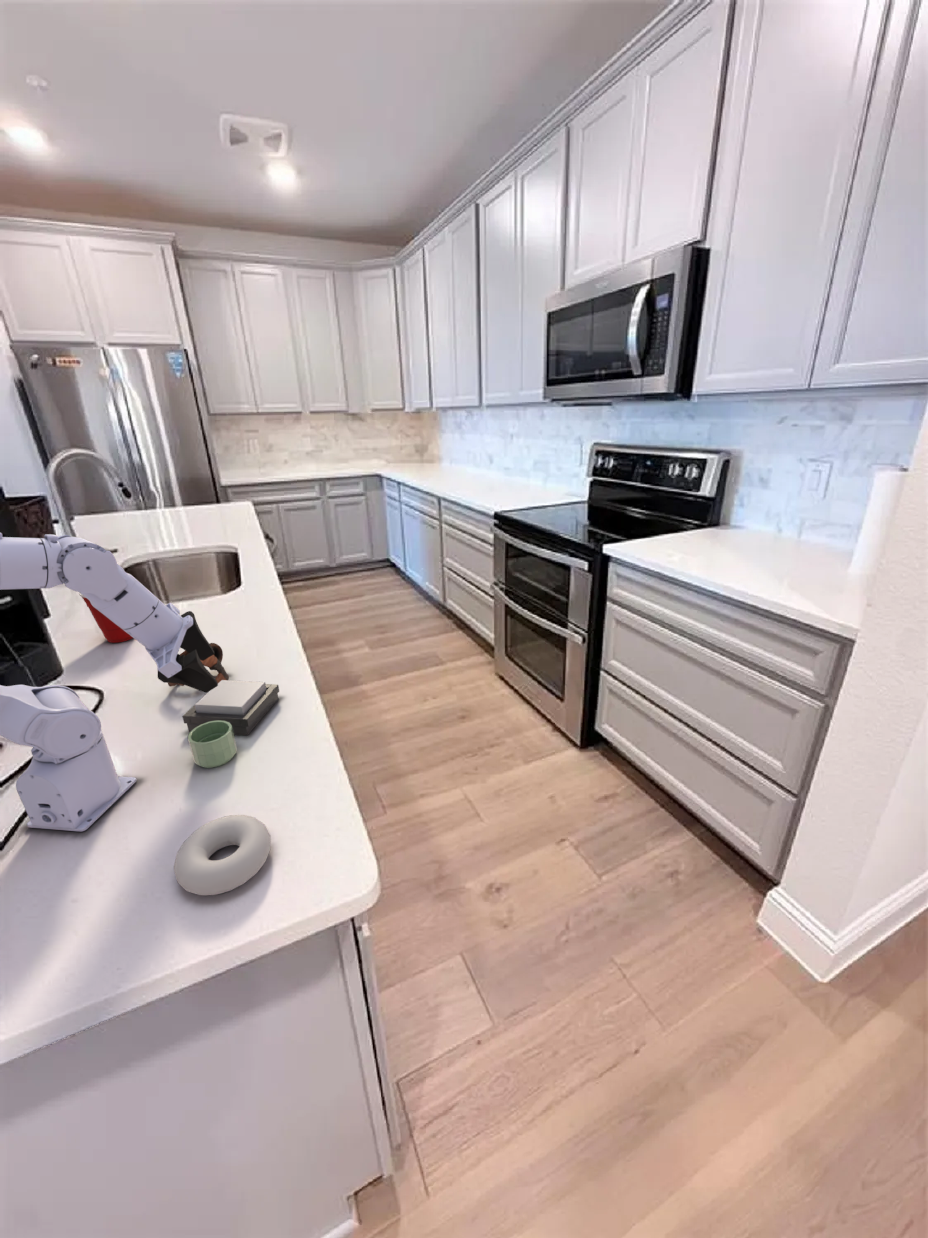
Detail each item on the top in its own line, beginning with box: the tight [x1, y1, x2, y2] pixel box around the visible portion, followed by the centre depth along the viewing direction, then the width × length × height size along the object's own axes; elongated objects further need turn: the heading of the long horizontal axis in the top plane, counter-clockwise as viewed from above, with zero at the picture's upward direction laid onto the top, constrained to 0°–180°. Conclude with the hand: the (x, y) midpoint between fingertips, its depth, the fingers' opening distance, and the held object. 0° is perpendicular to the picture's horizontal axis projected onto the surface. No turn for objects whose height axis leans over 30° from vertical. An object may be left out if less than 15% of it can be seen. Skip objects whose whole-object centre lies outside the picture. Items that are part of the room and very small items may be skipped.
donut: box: [173, 814, 271, 896], centre depth 57 cm, size 10×4×10 cm
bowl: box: [187, 720, 238, 769], centre depth 75 cm, size 6×6×4 cm
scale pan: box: [194, 679, 267, 715], centre depth 85 cm, size 8×8×2 cm
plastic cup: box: [78, 592, 134, 644], centre depth 114 cm, size 11×11×12 cm
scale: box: [181, 683, 280, 736], centre depth 85 cm, size 11×11×3 cm
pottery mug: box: [167, 642, 230, 687], centre depth 96 cm, size 12×10×8 cm
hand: (210, 671), depth 76 cm, fingers open, 7 cm apart
